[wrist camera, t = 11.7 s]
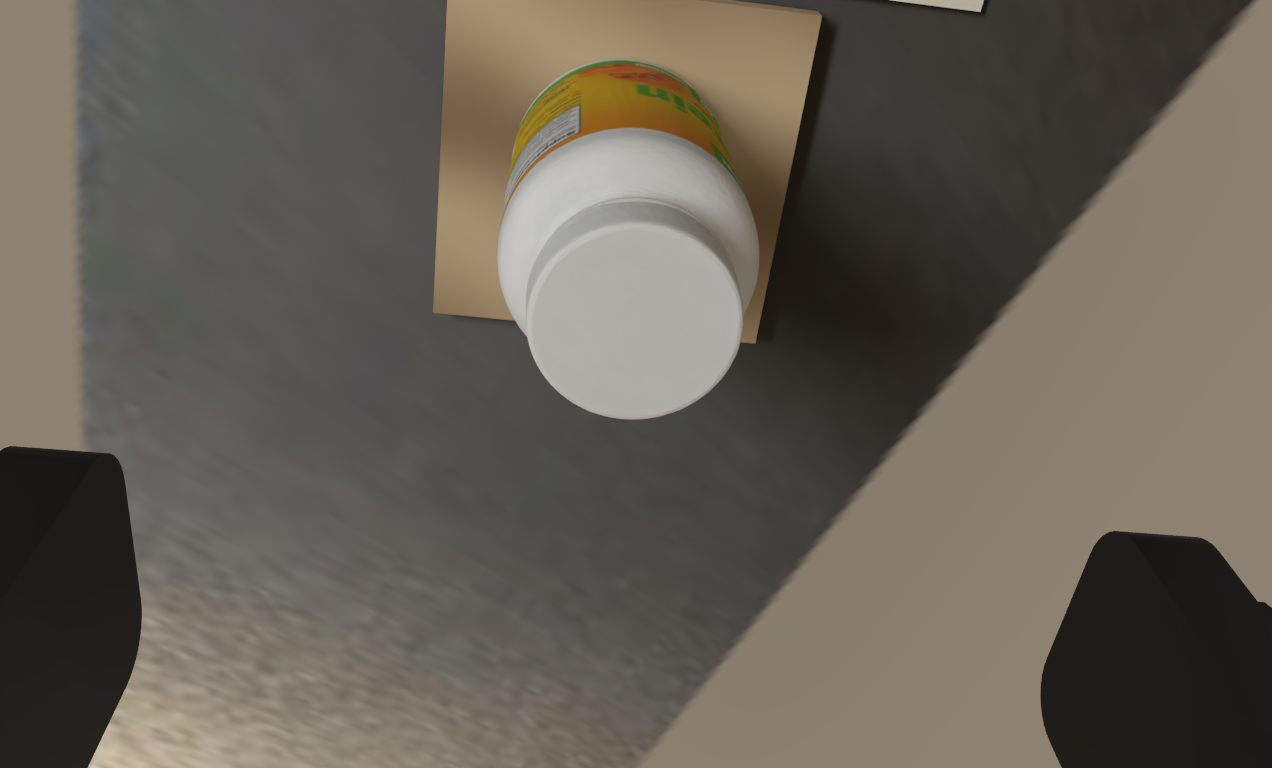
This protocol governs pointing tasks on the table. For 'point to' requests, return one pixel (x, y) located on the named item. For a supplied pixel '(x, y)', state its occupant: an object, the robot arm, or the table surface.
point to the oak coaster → (589, 31)
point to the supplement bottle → (626, 240)
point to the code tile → (950, 4)
